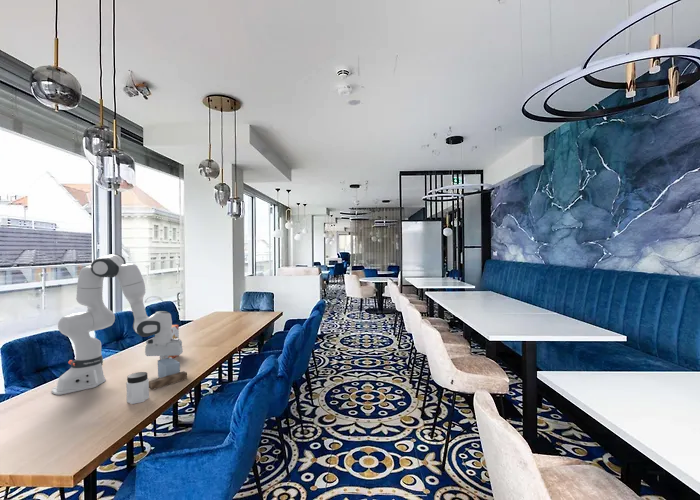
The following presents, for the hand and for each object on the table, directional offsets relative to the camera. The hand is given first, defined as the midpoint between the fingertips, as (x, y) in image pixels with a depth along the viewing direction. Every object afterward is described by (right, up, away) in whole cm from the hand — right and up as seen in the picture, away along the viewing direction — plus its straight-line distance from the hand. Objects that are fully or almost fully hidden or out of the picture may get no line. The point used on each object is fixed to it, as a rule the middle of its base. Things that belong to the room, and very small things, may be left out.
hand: (164, 363), depth 198 cm
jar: (+7, -6, -36) cm, 37 cm away
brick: (+6, -6, -6) cm, 11 cm away
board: (+10, -6, -15) cm, 20 cm away
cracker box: (-12, -7, +29) cm, 32 cm away
